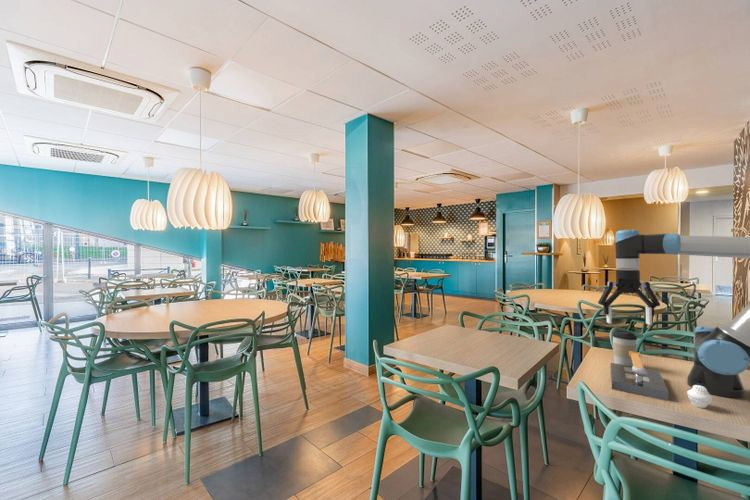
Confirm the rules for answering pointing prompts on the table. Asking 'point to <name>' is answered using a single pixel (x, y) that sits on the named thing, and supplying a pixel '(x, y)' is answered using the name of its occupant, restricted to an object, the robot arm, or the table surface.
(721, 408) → the table surface
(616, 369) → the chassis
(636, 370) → the swing arm
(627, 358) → the coffee cup
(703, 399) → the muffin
